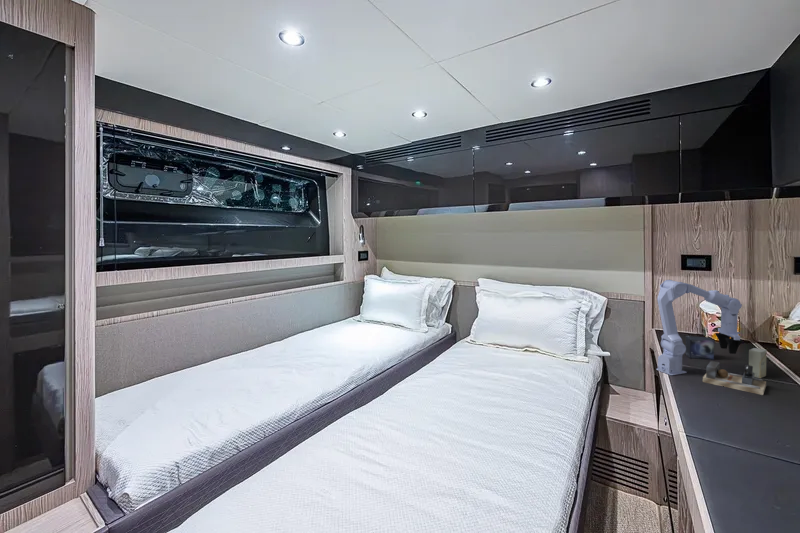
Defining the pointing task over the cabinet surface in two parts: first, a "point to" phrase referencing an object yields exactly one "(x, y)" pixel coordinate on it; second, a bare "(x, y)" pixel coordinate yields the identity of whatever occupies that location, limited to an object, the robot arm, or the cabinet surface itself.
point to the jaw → (748, 375)
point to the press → (731, 379)
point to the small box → (700, 347)
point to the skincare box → (758, 361)
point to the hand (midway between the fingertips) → (728, 350)
